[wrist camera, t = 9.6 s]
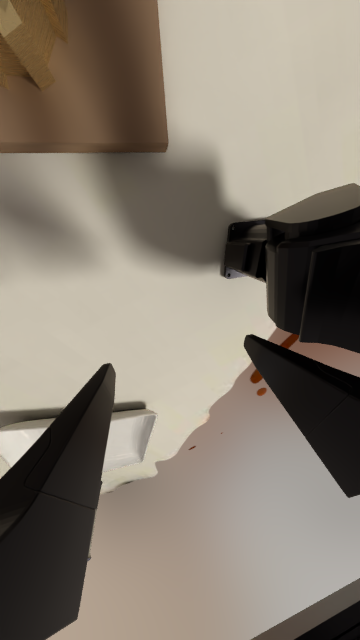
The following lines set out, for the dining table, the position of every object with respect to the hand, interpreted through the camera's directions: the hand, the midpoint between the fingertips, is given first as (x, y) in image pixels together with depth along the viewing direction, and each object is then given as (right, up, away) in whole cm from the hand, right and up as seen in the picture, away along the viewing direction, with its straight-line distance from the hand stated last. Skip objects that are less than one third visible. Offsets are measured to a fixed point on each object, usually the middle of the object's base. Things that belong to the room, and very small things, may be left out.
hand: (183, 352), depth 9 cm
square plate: (-22, -26, +26) cm, 43 cm away
